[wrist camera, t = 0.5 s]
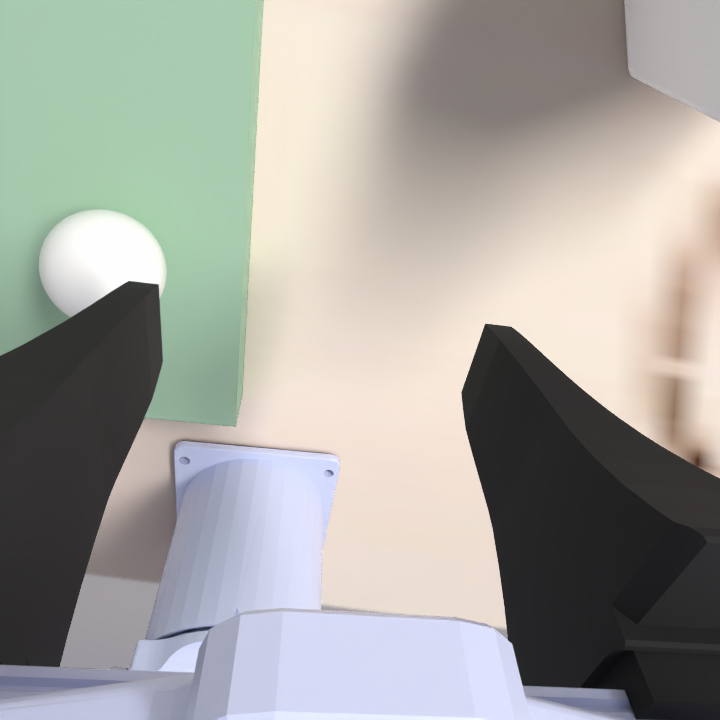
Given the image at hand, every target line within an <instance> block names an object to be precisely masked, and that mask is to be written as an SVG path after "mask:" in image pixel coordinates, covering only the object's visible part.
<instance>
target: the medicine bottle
mask: <svg viewBox="0 0 720 720" xmlns="http://www.w3.org/2000/svg"><path fill="white" fill-rule="evenodd" d="M624 4H625V22H626V40H627V57H628V70H629V72H630V75H631V76H632V77H633V78H635V79H637V80H639V81H641V82H643V83H645V84H647V85H649V86H651V87H653V88H654V89H656V90H658V91H660V92H662V93H664V94H666V95H668V96H670V97H672V98H674V99H676V100H678V101H680V102H682V103H684V104H686V105H688V106H690V107H692V108H694V109H696V110H697V111H699V112H701V113H703V114H705V115H707V116H709V117H711V118H713V119H715V120H717V121H719V122H720V0H624Z"/></svg>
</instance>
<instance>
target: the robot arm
mask: <svg viewBox="0 0 720 720" xmlns="http://www.w3.org/2000/svg"><path fill="white" fill-rule="evenodd" d="M162 363H163V352H162V334H161V316H160V298H159V284H151V283H143V282H135V281H128V282H126V283H124V284H123V285H121V286H119V287H118V288H116V289H115V290H113V291H111V292H110V293H108V294H107V295H105V296H104V297H102V298H101V299H99V300H98V301H96V302H95V303H93V304H91V305H90V306H88V307H87V308H85V309H84V310H82V311H80V312H79V313H77V314H76V315H74V316H72V317H71V318H69V319H68V320H66V321H64V322H63V323H61V324H59V325H57V326H55V327H54V328H52V329H50V330H48V331H47V332H45V333H43V334H41V335H39V336H38V337H36V338H34V339H32V340H30V341H29V342H27V343H25V344H23V345H21V346H19V347H17V348H15V349H13V350H11V351H9V352H7V353H5V354H3V355H1V356H0V720H720V478H718V477H716V476H714V475H712V474H710V473H708V472H706V471H704V470H702V469H700V468H698V467H696V466H695V465H693V464H691V463H689V462H687V461H686V460H684V459H682V458H680V457H679V456H677V455H675V454H674V453H672V452H670V451H668V450H667V449H665V448H663V447H662V446H660V445H658V444H657V443H655V442H654V441H652V440H650V439H649V438H647V437H646V436H644V435H643V434H641V433H640V432H638V431H637V430H635V429H634V428H632V427H631V426H630V425H628V424H627V423H625V422H624V421H622V420H621V419H619V418H618V417H617V416H615V415H614V414H613V413H611V412H610V411H609V410H607V409H606V408H605V407H603V406H602V405H601V404H600V403H598V402H597V401H596V400H595V399H593V398H592V397H591V396H590V395H588V394H587V393H586V392H585V391H584V390H582V389H581V388H580V387H579V386H578V385H577V384H575V383H574V382H573V381H572V380H571V379H570V378H568V377H567V376H566V375H565V374H564V373H563V372H562V371H561V370H560V369H558V368H557V367H556V366H555V365H554V364H553V363H552V362H551V361H550V360H549V359H547V358H546V357H545V356H544V355H543V354H542V353H541V352H540V351H539V350H538V349H537V348H536V347H534V346H533V345H532V344H531V343H530V342H529V341H528V340H527V339H526V338H524V337H523V336H522V335H521V334H520V333H519V332H517V331H516V330H515V329H513V328H512V327H508V326H500V325H492V324H485V326H484V329H483V332H482V335H481V338H480V341H479V344H478V347H477V349H476V352H475V355H474V358H473V361H472V364H471V367H470V370H469V373H468V375H467V378H466V381H465V384H464V387H463V390H462V402H463V411H464V419H465V426H466V431H467V435H468V439H469V443H470V446H471V450H472V454H473V457H474V461H475V464H476V468H477V471H478V475H479V478H480V482H481V485H482V489H483V493H484V496H485V500H486V503H487V507H488V510H489V514H490V519H491V523H492V527H493V533H494V539H495V545H496V551H497V557H498V563H499V570H500V577H501V584H502V592H503V599H504V606H505V615H506V624H507V633H508V640H507V639H506V638H504V637H503V636H502V635H501V634H500V633H499V632H497V631H496V630H495V629H494V628H492V627H491V626H489V625H487V624H484V623H479V622H475V621H470V620H465V619H461V618H456V617H441V616H422V615H404V614H386V613H367V612H349V611H331V610H321V578H322V549H323V545H324V540H325V535H326V530H327V526H328V521H329V516H330V511H331V507H332V502H333V497H334V492H335V488H336V483H337V478H338V474H339V469H340V459H339V458H338V457H337V456H335V455H331V454H321V453H310V452H299V451H288V450H278V449H267V448H256V447H245V446H234V445H223V444H212V443H201V442H191V441H181V442H178V443H177V444H176V447H175V450H174V464H175V487H176V509H177V523H176V527H175V530H174V534H173V538H172V541H171V545H170V549H169V552H168V556H167V560H166V564H165V567H164V571H163V575H162V578H161V582H160V586H159V589H158V593H157V597H156V600H155V605H154V608H153V612H152V615H151V619H150V623H149V626H148V630H147V634H146V638H145V640H138V641H137V644H136V648H135V651H134V655H133V658H132V662H131V666H130V669H129V670H128V668H122V667H117V666H115V667H112V668H110V669H93V668H67V667H59V666H60V662H61V658H62V655H63V651H64V647H65V643H66V639H67V635H68V631H69V628H70V624H71V621H72V617H73V614H74V610H75V606H76V603H77V599H78V596H79V592H80V589H81V584H82V581H83V578H84V575H85V572H86V568H87V565H88V562H89V558H90V555H91V552H92V548H93V545H94V542H95V538H96V535H97V532H98V529H99V526H100V523H101V520H102V517H103V514H104V511H105V507H106V504H107V501H108V498H109V496H110V493H111V491H112V488H113V486H114V483H115V481H116V479H117V476H118V474H119V472H120V470H121V468H122V466H123V463H124V461H125V459H126V457H127V455H128V452H129V450H130V448H131V446H132V444H133V441H134V439H135V437H136V435H137V433H138V430H139V428H140V426H141V424H142V421H143V419H144V417H145V415H146V412H147V410H148V408H149V406H150V403H151V401H152V398H153V395H154V392H155V388H156V385H157V382H158V378H159V374H160V371H161V367H162ZM183 457H186V458H187V459H186V458H183ZM326 470H331V471H326Z"/></svg>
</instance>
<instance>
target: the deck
mask: <svg viewBox="0 0 720 720" xmlns="http://www.w3.org/2000/svg"><path fill="white" fill-rule="evenodd" d="M262 16H263V0H0V356H1V355H3V354H5V353H7V352H9V351H11V350H13V349H15V348H17V347H19V346H21V345H23V344H25V343H27V342H29V341H30V340H32V339H34V338H36V337H38V336H39V335H41V334H43V333H45V332H47V331H48V330H50V329H52V328H54V327H55V326H57V325H59V324H61V323H63V322H64V321H66V320H68V319H69V318H71V317H69V316H68V315H66V314H65V313H63V312H62V311H61V310H60V309H59V308H58V307H57V306H56V305H55V304H54V303H53V302H52V301H51V299H50V298H49V296H48V295H47V293H46V291H45V289H44V287H43V285H42V282H41V278H40V274H39V255H40V250H41V247H42V245H43V243H44V240H45V238H46V237H47V235H48V234H49V232H50V231H51V230H52V229H53V228H54V227H55V226H56V225H57V224H58V223H59V222H60V221H62V220H63V219H65V218H66V217H68V216H70V215H73V214H75V213H78V212H81V211H86V210H92V209H105V210H111V211H116V212H120V213H123V214H125V215H128V216H130V217H132V218H134V219H135V220H137V221H138V222H140V223H141V224H143V225H144V226H145V227H146V228H147V229H148V230H149V231H150V232H151V233H152V234H153V236H154V237H155V238H156V240H157V241H158V243H159V245H160V247H161V249H162V251H163V253H164V257H165V261H166V268H167V274H166V283H165V287H164V290H163V293H162V295H161V297H160V316H161V334H162V352H163V363H162V367H161V371H160V374H159V378H158V382H157V385H156V388H155V392H154V395H153V398H152V401H151V403H150V406H149V408H148V410H147V412H146V415H145V417H144V418H150V419H161V420H171V421H182V422H192V423H202V424H213V425H223V426H234V427H236V423H237V418H238V413H239V408H240V403H241V399H242V387H243V369H244V350H245V332H246V313H247V294H248V276H249V257H250V239H251V220H252V202H253V183H254V164H255V146H256V127H257V109H258V90H259V72H260V53H261V35H262Z"/></svg>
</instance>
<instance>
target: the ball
mask: <svg viewBox="0 0 720 720" xmlns="http://www.w3.org/2000/svg"><path fill="white" fill-rule="evenodd" d="M39 274H40V278H41V282H42V285H43V287H44V289H45V291H46V293H47V295H48V296H49V298H50V299H51V301H52V302H53V303H54V304H55V305H56V306H57V307H58V308H59V309H60V310H61V311H62V312H63V313H65V314H66V315H68V316H69V317H72V316H74V315H76V314H77V313H79V312H80V311H82V310H84V309H85V308H87V307H88V306H90V305H91V304H93V303H95V302H96V301H98V300H99V299H101V298H102V297H104V296H105V295H107V294H108V293H110V292H111V291H113V290H115V289H116V288H118V287H119V286H121V285H123V284H124V283H126V282H128V281H135V282H143V283H151V284H159V298H160V297H161V295H162V293H163V290H164V287H165V283H166V274H167V268H166V261H165V257H164V253H163V251H162V249H161V247H160V245H159V243H158V241H157V240H156V238H155V237H154V236H153V234H152V233H151V232H150V231H149V230H148V229H147V228H146V227H145V226H144V225H143V224H141V223H140V222H138V221H137V220H135V219H134V218H132V217H130V216H128V215H125V214H123V213H120V212H116V211H111V210H105V209H92V210H86V211H81V212H78V213H75V214H73V215H70V216H68V217H66V218H65V219H63V220H62V221H60V222H59V223H58V224H57V225H56V226H55V227H54V228H53V229H52V230H51V231H50V232H49V234H48V235H47V237H46V238H45V240H44V243H43V245H42V247H41V250H40V255H39Z"/></svg>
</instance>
